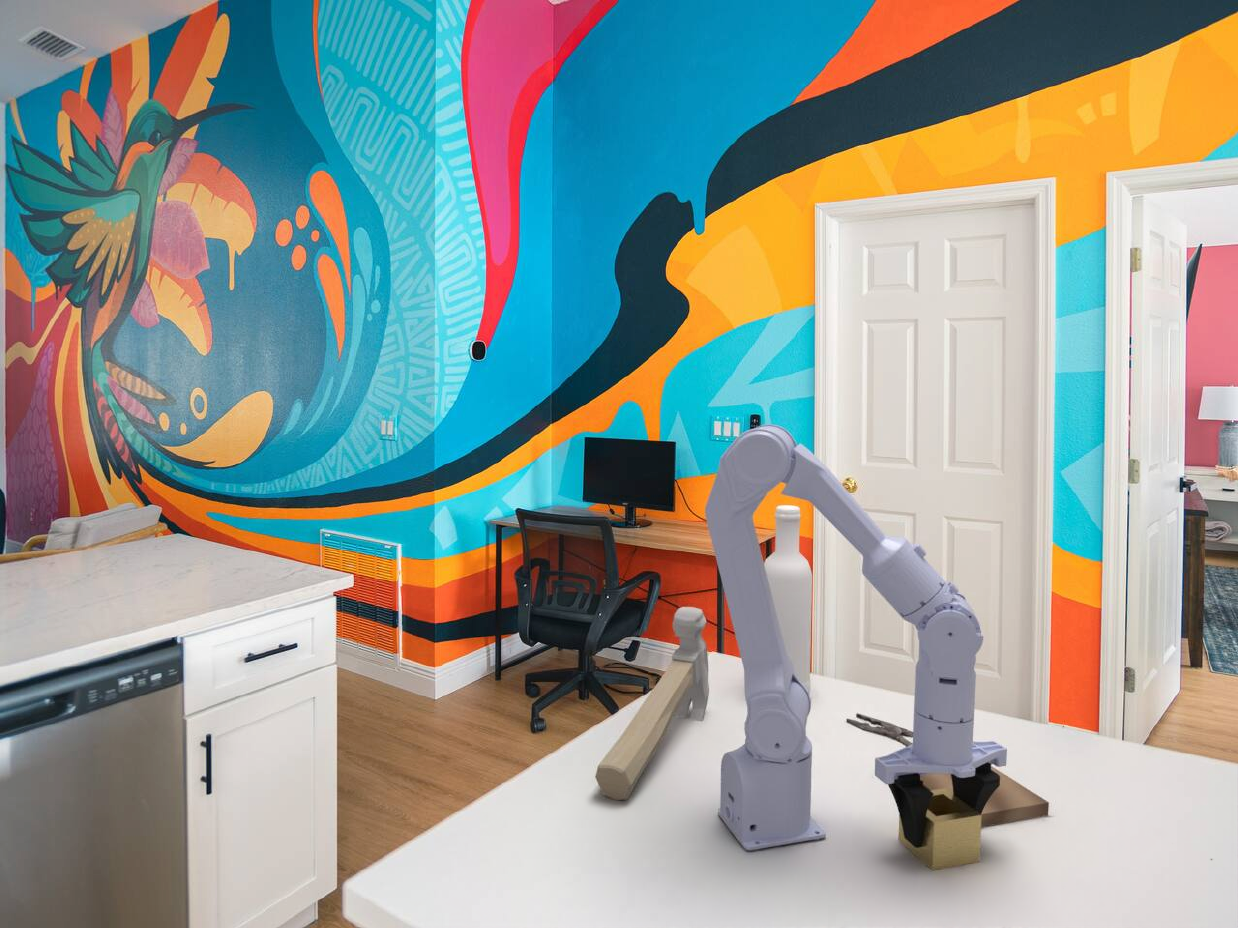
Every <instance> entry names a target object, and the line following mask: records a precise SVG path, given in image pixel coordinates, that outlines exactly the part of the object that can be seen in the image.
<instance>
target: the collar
mask: <svg viewBox="0 0 1238 928" xmlns="http://www.w3.org/2000/svg"><path fill="white" fill-rule="evenodd" d="M930 791H931V792H932V793H933V796H932V798H931V800H930V803H929V806H928V809H927V813H926V818H925V831H924V840H923V844H922V847H919V848H916V847H914V846H913V845H912V844H911V843H910V842H909V841H907V840H906V839H905V838H904V832H903V827H902V822H901V818H900V814H899V817H898V841H899V842H900V843H901V844H902V845H903V846H904V847H906V848H907V849H908V850H909V851H910V852H911V853H912V854H914V855H915V856H916V858H918V859H919V860H920V861H922V863H923V864H925V865H926V866H927V867H928V868H929V869H930V870H932V871H936V870H942V869H946V868H952V867H953V868H954V867H956V866H957V867H958V866H962V865H967V864H974V863H978V862H980V859H981V858H980V856H981V837H982V836H981V834H982V827H981V816H982V815H981V814H980V813H978V812H977V811H976V810H974V809H973V808H971V807H970V806H969V805H967V804H966V803H965V802H963V801H962V800H961V799H959V798H958V797H956V796H955V795H954V794H952V793H951V792H950V791H948V790H947V789H945V788H943V789H937V790H930Z"/></svg>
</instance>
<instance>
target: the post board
mask: <svg viewBox="0 0 1238 928" xmlns="http://www.w3.org/2000/svg"><path fill="white" fill-rule="evenodd" d="M991 770H992V771H994V772H995V773H997V774H998V775H999V776H1000V786H999V787H998V788H997V789H996V790H995V791H994V793H993V794H992V795H991V797H990V798H989V800H988V801H987V803H986V805H985V807H984V809H983V811H982V813H981V815H982V816H981V828H984V827H989V826H990V827H991V826H994V825H1000V824H1005V823H1011V822H1017V821H1023V819H1024V820H1027V819H1028V820H1029V819H1034V818H1040V817H1046V816H1049V808H1050V807H1049V806H1050V805H1049V804H1050V802H1049V801H1047V800H1046V799H1044V798H1043V797H1041V796H1040V795H1038V794H1037V793H1035V792H1033V791H1032V790H1030V789H1029V788H1027V787H1025V786H1024V785H1022V784H1020V783H1019V782H1017V781H1016V780H1015V779H1013V778H1011V777H1009V776H1008V775H1007V774H1004V772H1001V771H1000V770H998V769H997V768H996V767H994V766H992V765H991ZM920 780H922V781H923V786H925V787H926V788H927V789H928V790H937V789H943V788H945V789H947V790H948V791H950V792H951V793H952V794H953V785H952V778H951V774H927V775H920Z"/></svg>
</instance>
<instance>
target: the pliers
mask: <svg viewBox="0 0 1238 928" xmlns="http://www.w3.org/2000/svg"><path fill="white" fill-rule="evenodd" d="M855 716H856V718H859V719H860V720H862V721H866V722H868V723H866V722H864V723H863V722H860V721H858V720H855V719H851V718H846V720H845V722H846V723H847V724H850V725H851V726H854V727H855V728H857V729H860V730H861V731H864V732H867V733H871V734H875V735H879V736H883V737H886V738H889V739H890V740H893V741H896V742H898V743H900V744H902V745H903V746H905V747H907V746H909V745H912V744H913V742H911V741H910V740H908V739H906V738H905V737H909V738H912V739H913V730H912V731H911V730H909V729H907V728H904V727H901V726H897V725H895V724H894V723H891V722H888V721H884V720H880V719H877V718H874V717H871V716H867V715H864V714H861V713H858V712H857V713H856V714H855ZM869 723H870V724H871V725H870V724H869ZM872 725H873V726H872ZM874 725H875V726H874ZM876 725H877V726H876Z"/></svg>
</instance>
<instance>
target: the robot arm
mask: <svg viewBox="0 0 1238 928" xmlns="http://www.w3.org/2000/svg"><path fill="white" fill-rule="evenodd" d="M781 483H783V484H785V486H784V488H783V489H782V491H781V494H780V495H784V496H787V497H791V498H795V499H799V500H805V501H807V502H809V503H811V504H812V506H814V508H815V509H817V510H818V512H819V513H820V514H821V515H822V516H824V518H825V519H826V520H827V521H828V522H829V523H831V525H832V526H833V528H835V529H836V530H837V531H838V532H839V533H840V534H841V535H842V536H843V537H844V538H845V539H846V540H847V541H848V543H850V544H851V545H852V546H853V547H854V548H855V550H857V552H859V553H860V555H862V565H861V574H862V575H863V576H864V577H865V579H866V580H867V581H868V582H869V583H870V584H871V585H872V586H873V587H874V589H876V591H878V593H879V594H880V595H881V596H882V598H884V600H885V601H886V602H887V603H888V604H889V606H891V607H892V608H893V610H894V611H895V612H896V613H897V614H898V615H899V616H900V617H901V618H902V620H904V621H905V622H908V623H910V624H912V625H913V626H914V627H915V629H916V631H917V638H918V657H917V658H918V659H917V662H916V664H915V672H914V673H915V675H914V676H915V677H914V680H915V681H914V703H913V730H912V732H913V738H912V743H913V744H912V745H909V746H905V747H903V748H900V749H899V750H896V751H893V752H891V753H889V754H886V755H883V756H878V757H875V759H874V776H875V777H876V778H877V779H878V780H880V782H883V784H884V785H887V786H888V787H889V790H890V792H891V794H892V797H893V799H894V801H895V804H896V808H897V810H898V813H899V814H900V818H901V822H902V827H903V832H904V838H905V839H906V840H907V841H909V842H910V843H911V844H912V845H913V846H914V847H916V848H919V847H922V844H923V840H924V831H925V818H926V813H927V809H928V806H929V803H930V800H931V798H932V796H933V793H932V792H931V791H930V790H928V789H927V788H926V787H925V786H923V781H922V780H920V775H927V774H951V778H952V785H953V794H954V795H955V796H956V797H958V798H959V799H961V800H962V801H963V802H965V803H966V804H967V805H969V806H970V807H971V808H973V809H974V810H976V811H977V812H978V813H980V814H981V813H982V811H983V809H984V807H985V805H986V803H987V801H988V800H989V798H990V797H991V795H992V794H993V793H994V791H995V790H996V789H997V788H998V787H999V786H1000V776H999V775H998V774H997V773H995V772H994V771H992V770H991V766H992V765H994V766H995V767H997V768H1001V767H1007V754H1008V753H1007V752H1008V748H1007V747H1005V746H1003V745H1002V744H1000V743H998V742H997V741H995V740H989V741H974V724H975V723H974V721H975V702H976V701H975V700H976V683H977V682H976V681H977V680H976V679H977V674H976V671H975V665H976V661H977V659H976V658H977V653H979V651H980V650H981V647H982V645H983V642H984V635H983V634H982V630H981V626H980V623H979V621H978V618H977V617H976V614H975V613H974V612H975V611H974V610H973V608H972V607H971V605H970V603H968V602H967V600H966V597H965V596H964V595H963V594H962V593H960V592H959V588H958V586H957V585H956V584H955V583H954V582H953V581H949V582H947V581H946V580H945V579H944V578H943V577H942V576H941V575H940V574H939V572H937V570H936V569H935V568H934V567H933V566H932V565H931V564H930V563H929V562H928V560H926V559H925V556H926V555H927V552H926V549H924V547H923V546H922V545H921V543H919V542H915V543H914V544H912V543H911V542H910V541H909V540H908V539H907V538H906V537H902V536H891V535H886V533H884V531H883V530H882V529H881V528H880V527H879V526H878V525H877V524H876V522H875V521H874V520H873V518H871V517H870V515H869V514H868V513H867V511H866V510H864V508H863V507H862V506H861V504H859V503H858V502H857V500H856V499H855V498H854V496H853V495H851V493H850V492H849V491H848V490H847V489H846V488H845V486H844V484H842V483H841V482H840V481H839V480H838V478H837V477H836V476H835V475H834V474H833V473H832V471H831V470H830V469H829V468H828V466H826V465H825V463H823V461H822V460H820V459H819V458H818V457H817V456H816V455H815V454H814V453H813V452H812V451H811V450H809V448H807V447H806V446H804V445H803V444H802V443H799V444H798V445H797V442H796V440H795V438H794V436H793V435H792V434H791V432H789V430H787V429H785V428H784V427H782V426H780V425H776V424H770V423H769V424H761V425H759V426H756V427H754V428H751V429H749V430H745V431H744V432H742V433H741V434H740V435H738V436H737V437H736V438H735V439H734V440H733V442H732V443H731V445H730V446H729V447H727V449H726V450H725V452H724V453H723V454H722V455H721V456H720V459H719V464H718V469H717V472H716V475H715V477H714V481H713V484H712V487H711V490H710V493H709V495H708V497H707V502H706V504H705V507H704V512H705V513H704V514H705V520H706V523H707V529H708V533H709V536H710V540H711V544H712V548H713V552H714V555H715V556H714V557H715V559H716V563H717V567H718V572H719V575H720V580H721V584H722V588H723V591H724V595H725V599H726V603H727V606H728V607H727V609H728V610H729V611H728V612H729V615H730V619H731V622H732V626H733V631H734V635H735V638H736V639H735V640H736V642H737V647H738V651H739V655H740V659H741V664H742V666H743V675H744V676H743V678H744V679H743V680H744V683H743V684H744V688H743V689H744V690H743V691H744V698H745V699H744V700H745V704H746V708H747V709H746V710H747V714H746V718H745V722H744V729H743V730H744V736H745V739H744V743H743V744H742V745H741V746H739V747H738V748H736V749H734V750H731V751H728V752H726V753H724V754H723V755H722V759H721V764H720V804H719V805H720V807H719V808H718V809H717V814H718V816H719V817H720V818H721V819H722V822H724V823H725V825H726V826H727V828H728V829H729V830H730V831H731V833H732V834H733V835H734V836H735V838H736V840H737V841H738V842H739V843H740V844H741V846H742V847H743V849H745V851H754V850H760V849H765V848H771V847H777V846H783V845H790V844H794V843H795V844H796V843H801V842H805V841H806V842H807V841H812V840H819V839H824V838H826V836H827V832H826V830H825V829H824V828H822V826H821V825H820V824H819V823H818V822H817V821H816V820H814V818H813V817H812V816H811V802H812V801H811V800H812V767H813V766H812V763H813V762H812V761H813V760H812V759H813V744H812V742H811V740H810V739H809V738H808V736H807V731H806V730H807V729H806V728H807V722H808V718H809V715H810V712H811V709H812V708H811V707H812V701H811V700H812V699H811V696H810V694H809V693H808V691H807V689H806V687H805V686H804V685H803V684H802V683H801V682H800V680H799V679H798V677H797V675H796V673H795V670H794V666H793V663H792V661H791V659H790V658H789V656H788V655H787V653H786V649H785V645H784V641H783V637H782V633H781V629H780V625H779V621H778V617H777V613H776V609H775V605H774V601H773V597H772V593H771V589H770V585H769V581H768V577H767V573H766V570H765V566H764V563H765V561H764V559H763V555H762V550H761V546H760V543H759V539H758V535H757V531H756V526H755V522H754V519H753V517H754V514H755V513H756V511H757V510H758V508H759V506H760V505H761V503H762V502H763V501H764V499H765V497H767V495H768V493H769V492H771V491H772V490H774V489H775V488H776V487H777V486H779V484H781Z"/></svg>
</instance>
